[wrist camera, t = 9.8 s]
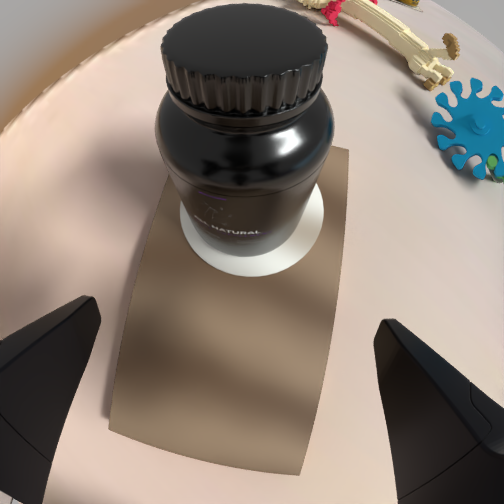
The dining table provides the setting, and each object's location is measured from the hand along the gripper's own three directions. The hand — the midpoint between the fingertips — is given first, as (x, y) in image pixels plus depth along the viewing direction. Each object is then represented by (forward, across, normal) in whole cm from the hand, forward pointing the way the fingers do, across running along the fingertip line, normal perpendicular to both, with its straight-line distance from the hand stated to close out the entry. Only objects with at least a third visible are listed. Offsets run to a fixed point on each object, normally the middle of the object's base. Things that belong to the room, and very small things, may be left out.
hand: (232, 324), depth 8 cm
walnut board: (+8, +1, +4) cm, 10 cm away
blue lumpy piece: (+18, -20, -5) cm, 28 cm away
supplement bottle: (+11, 0, 0) cm, 11 cm away
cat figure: (+32, -12, -19) cm, 39 cm away
